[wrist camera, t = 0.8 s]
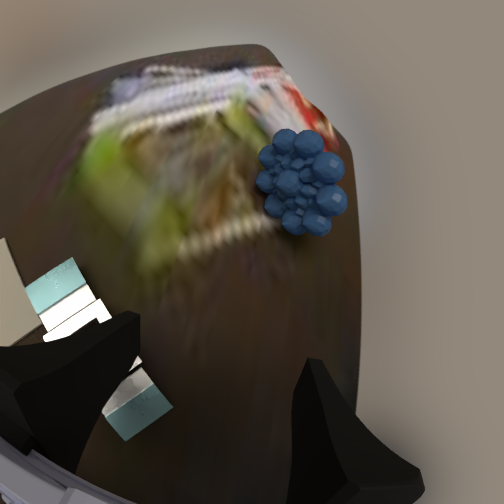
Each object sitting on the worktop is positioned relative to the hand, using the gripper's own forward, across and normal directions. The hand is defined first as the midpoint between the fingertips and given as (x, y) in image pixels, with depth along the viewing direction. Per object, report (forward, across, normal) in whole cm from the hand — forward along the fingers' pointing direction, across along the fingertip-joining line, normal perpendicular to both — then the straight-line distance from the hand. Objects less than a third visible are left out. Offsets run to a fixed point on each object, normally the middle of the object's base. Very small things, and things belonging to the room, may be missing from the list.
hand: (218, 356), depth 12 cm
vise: (+7, +11, +10) cm, 16 cm away
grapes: (+24, -1, -2) cm, 25 cm away
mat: (+4, +22, +7) cm, 23 cm away
